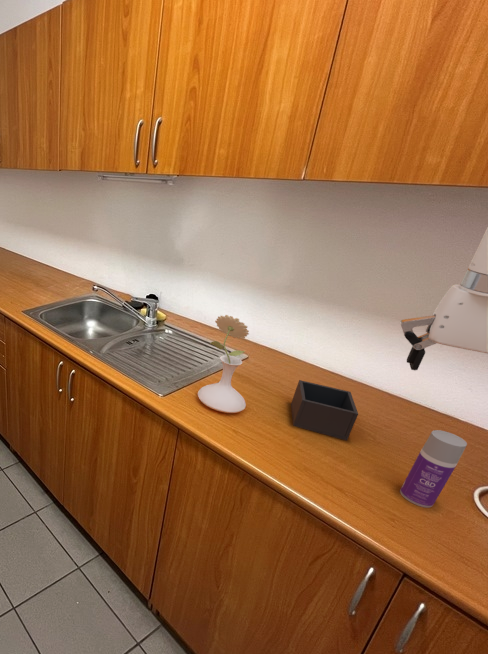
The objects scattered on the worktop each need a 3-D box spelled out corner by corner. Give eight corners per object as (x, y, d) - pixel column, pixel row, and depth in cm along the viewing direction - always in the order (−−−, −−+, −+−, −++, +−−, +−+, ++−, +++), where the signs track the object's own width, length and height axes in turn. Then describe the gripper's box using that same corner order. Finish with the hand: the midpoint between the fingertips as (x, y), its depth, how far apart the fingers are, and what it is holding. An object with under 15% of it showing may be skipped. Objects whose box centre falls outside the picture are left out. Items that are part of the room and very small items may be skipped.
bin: (340, 417, 101) (350, 391, 98) (347, 440, 93) (358, 414, 90) (290, 404, 107) (299, 379, 104) (293, 425, 99) (302, 399, 96)
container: (407, 503, 77) (440, 443, 71) (394, 485, 81) (424, 427, 75) (439, 510, 75) (475, 449, 70) (424, 491, 80) (457, 432, 74)
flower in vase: (254, 413, 103) (280, 327, 94) (218, 420, 101) (241, 333, 91) (216, 386, 115) (236, 307, 105) (183, 392, 112) (200, 311, 103)
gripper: (578, 288, 60) (521, 383, 67) (418, 269, 71) (383, 353, 77) (600, 303, 55) (536, 404, 62) (424, 280, 65) (385, 369, 72)
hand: (451, 375), depth 69 cm, fingers open, 9 cm apart
